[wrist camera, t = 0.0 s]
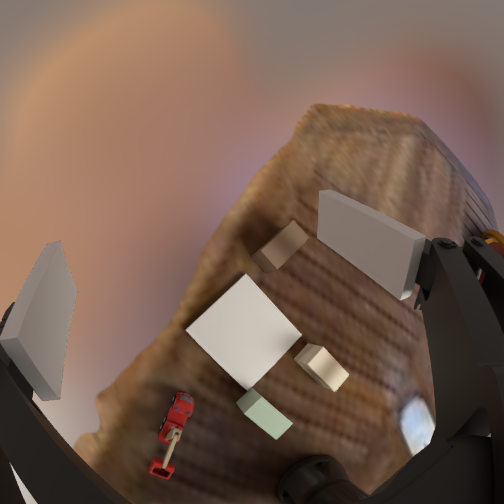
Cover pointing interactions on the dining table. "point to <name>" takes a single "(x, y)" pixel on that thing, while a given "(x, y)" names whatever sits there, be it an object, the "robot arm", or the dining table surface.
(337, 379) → the birch brick
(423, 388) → the dining table surface
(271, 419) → the sage brick
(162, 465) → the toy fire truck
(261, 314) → the grey plate
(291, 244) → the walnut brick
